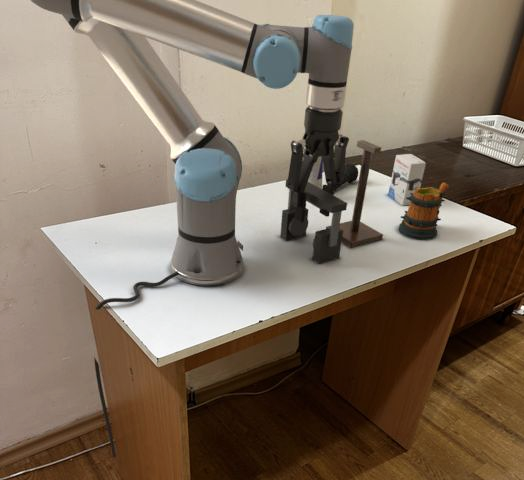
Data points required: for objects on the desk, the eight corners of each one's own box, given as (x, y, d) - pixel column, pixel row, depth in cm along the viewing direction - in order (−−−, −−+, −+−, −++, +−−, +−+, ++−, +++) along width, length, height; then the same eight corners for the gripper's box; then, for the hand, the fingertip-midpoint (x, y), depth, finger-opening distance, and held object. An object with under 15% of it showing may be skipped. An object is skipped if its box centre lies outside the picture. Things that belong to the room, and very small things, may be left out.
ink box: (387, 194, 151) (395, 154, 143) (401, 193, 152) (410, 153, 145) (401, 205, 144) (411, 163, 137) (416, 204, 145) (427, 162, 138)
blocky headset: (320, 265, 114) (328, 206, 105) (278, 235, 125) (282, 180, 116) (341, 259, 116) (351, 202, 108) (298, 230, 127) (303, 176, 119)
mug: (420, 244, 125) (432, 198, 118) (388, 229, 131) (398, 184, 124) (452, 232, 132) (465, 188, 125) (420, 218, 138) (431, 175, 131)
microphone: (324, 208, 147) (357, 182, 159) (331, 192, 143) (364, 166, 154) (309, 198, 149) (343, 173, 160) (315, 182, 144) (350, 157, 156)
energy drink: (325, 194, 147) (326, 151, 139) (316, 200, 143) (317, 157, 136) (308, 191, 149) (308, 149, 142) (299, 197, 145) (299, 154, 138)
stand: (351, 247, 121) (367, 153, 108) (325, 231, 128) (337, 140, 114) (382, 239, 126) (401, 147, 112) (355, 224, 132) (371, 135, 119)
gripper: (295, 116, 95) (286, 231, 109) (373, 108, 104) (355, 215, 118) (273, 107, 100) (267, 218, 114) (349, 100, 109) (334, 204, 123)
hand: (311, 216), depth 116 cm, fingers open, 6 cm apart
